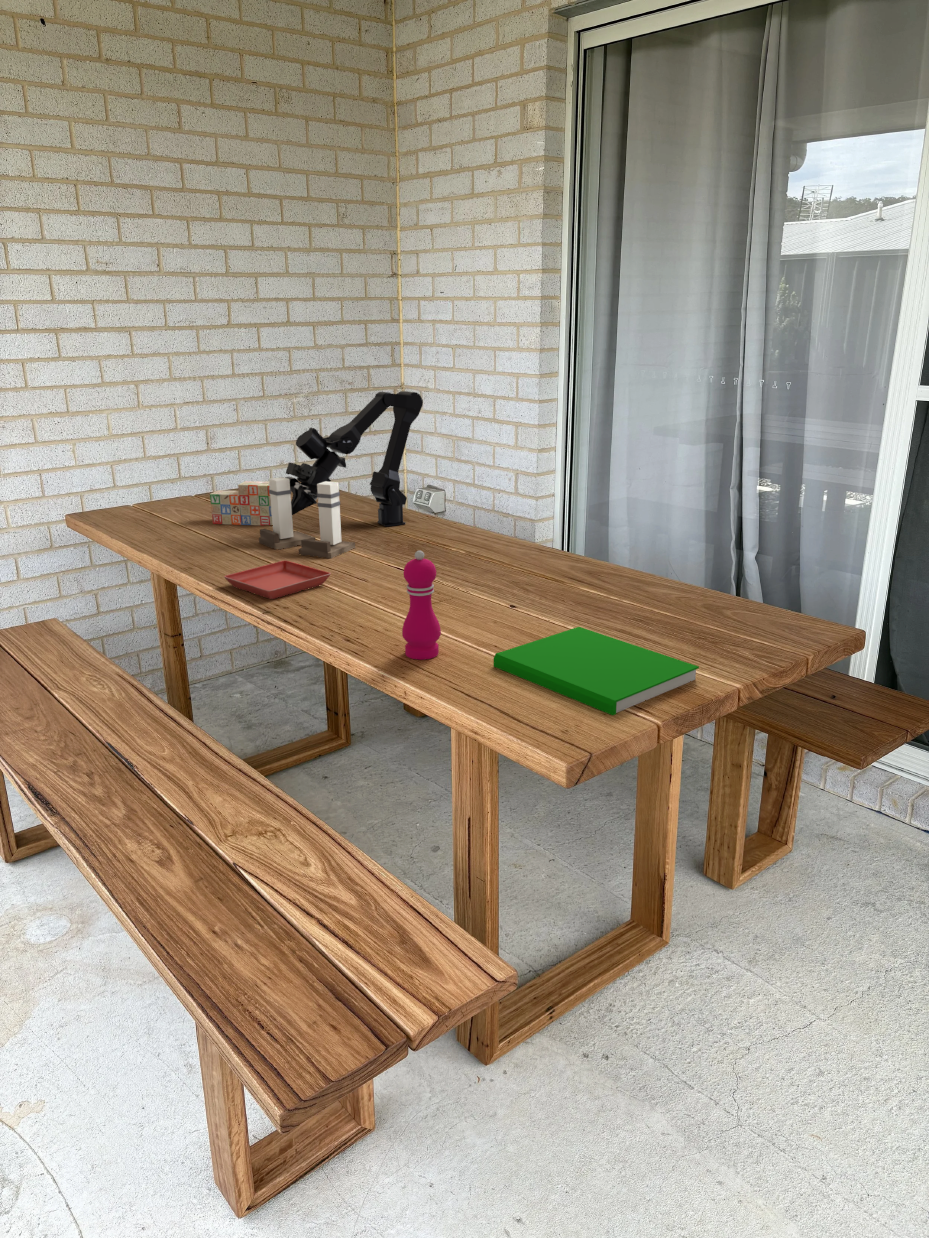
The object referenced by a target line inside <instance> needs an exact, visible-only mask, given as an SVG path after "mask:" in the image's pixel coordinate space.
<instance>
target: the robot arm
mask: <svg viewBox="0 0 929 1238" xmlns="http://www.w3.org/2000/svg"><path fill="white" fill-rule="evenodd" d="M423 400H424V399H423V398H422V395H421V394H420V393H418V392H416V391H408V390H402V391H401V390H400V391H399V392H397V393H391V392H388V391H378V392H377V393H375V396H374V397H373V398H372V399H371V400H370V401H369V402H368V404H366V405H365V407H363V408H362V410H360V411H359V413H357V415H355V416H354V417H353V419H351V421H349V422H348V423H347V424H345V425H343V426H340V427H338V428H337V429H336V430H334V431H333V432H332V433H330V435H329V436H326V437H323V436H322V435H321V434H320V432H318V431H317V429H316V428H313V427H310V428H309V429H308V430H306V431H304V432H303V433H302V434H300V435H298V437H297V439H296V441H295V446H296V447H297V448H298V449H300V451H301V452H302V453H304V454H305V456H306V457H308V458H309V460H314V459H315V461H314V462H313V464H312V465H310V464H308V463H304V462H303V463H301V465H300V464H298V463H294V462H288V464H287V468H286V470H285V474H287V475H291V476H284V478H288V479H289V480H290V490H291V494H292V496H291V509H292V516H294V515H295V514H298V513H300V512H301V511H303V510H305V509H307V508H309V507H311V506H313V505H316V504H317V503H318V501H317V500H318V497H317V493H318V491H317V484H319V483H322V482H325V481H327V482H332V480H331V479H330V477H331V476H332V475H333V473H334V472H335V470H336V469H337V468H338V467H340V468H343V469H344V468H345V469H346V468H347V462H346V458H345V457H343V456H340V455H338V454H343V455H350V454H352V453H353V452H354V451H355V449H357V447H358V445H359V443H360V442H361V438H362V436H363V434H364V433H365V432H366V431H367V430H368V429H369V428H370V427H371V426H372V425H373V424H374V423H375V421H377V419H378V418H379V417H380V416H381V415H382V414H383V413H384V412H386V410H388V408H390V407H392V412H393V417H394V421H393V425H392V429H391V433H390V436H389V440H388V443H387V448H386V452H385V456H384V459H383V463H382V466H381V468H380V470H378V471H376V470H375V471H373V472H372V476H371V481H370V482H369V485H370V492H371V495H372V496H373V497H374V499H375V501H376V503H379V507H378V509H377V517H378V519H377V520H378V521H377V523H378V524H380V525H381V526H384V527H393V526H401V525H406V523H407V522H406V521H404V514H403V513H404V511H403V510H404V509H403V507H404V506H403V505H406V503H407V500H408V499H407V496H406V495H405V494H404V493H403V492H402V491H401V490H400V488H401V487H400V486H401V478H400V475H399V470H400V466H401V463H402V459H403V456H404V453H405V452H404V451H405V448H406V445H407V442H408V437H409V433H410V430H411V427H412V424H413V423H414V421H415V420H416V419H417V418H418V417H419V415H420V413H421V410H422V408H423V403H424V401H423ZM329 449H330V450H329ZM292 476H294V477H292Z"/></svg>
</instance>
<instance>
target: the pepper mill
mask: <svg viewBox="0 0 929 1238" xmlns="http://www.w3.org/2000/svg"><path fill="white" fill-rule="evenodd" d="M436 577H437V569H436V566H435V564H434V563H433V562H432V561H431V560H430V559H427V558H425V552H423V551H422V550H417V551H415V553H414V558H413V559H411V560H409V561H408V562H406V564H405V566H404V568H403V578H404V580H405V581H406V582H407V585H406V593H407V594H408V595H409V608H408V612H407V614H406V617H405V619H404V621H403V625H402V630H401V631H402V632H401V636H402V638H403V639H404V641H405V642H406V644H405V645H404V647H405V648H404V650H405V651H404V652H405V653H404V654H405V656H406V658H409V659H413V660H429V659H433V658H435V657H438V655H439V649H440V648H439V643H438V642H437V641H438V640H439V639H440V637H441V634H442V631H441V624H440V622H439V619H438V618H437V616H436V614H435V612H434V609H433V605H432V604H433V603H432V594H434V593H435V589H434V588H435V585H434V584H433V582H434V581H435V580H436Z"/></svg>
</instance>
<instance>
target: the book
mask: <svg viewBox="0 0 929 1238" xmlns="http://www.w3.org/2000/svg"><path fill="white" fill-rule="evenodd" d="M493 667H494V668H496V669H499V670H500V671H503V672H505V673H508V674H511V675H513V676H515V677H518V678H521V679H523V680H526V681H527V682H530V683H533V684H535V685H538V686H540V687H542V688H545V689H547V690H550V691H551V692H555V693H557V694H559V695H562V696H564V697H567V698H569V699H572V700H574V701H577V702H579V703H581V704H584V705H586V706H588V707H591V708H594V709H595V710H598V711H601V712H603V713H606V714H608V715H611V716H615V715H617V713H619V712H622V711H624V710H626V709H628V708H631V707H634V706H635V705H639V704H641V703H643V702H645V700H646V701H648V700H650V699H652V698H656V697H657V696H659V695H662V694H664V693H666V692H669V691H672V690H674V689H676V688H679V687H681V686H684V685H687V684H688V683H691V682H693V681H695V680H696V677H697V676H696V674H697V670H698V669H700V666H699V665H696V664H692V663H691V662H690V663H689V662H686V661H684V660H680V659H678V658H674V657H672V656H668V655H666V654H662V653H659V652H656V651H653V650H651V649H648V648H645V647H641V646H639V645H636V644H633V643H629V642H626V641H623V640H622V639H621V640H620V639H617V638H615V637H611V636H609V635H605V634H602V633H599V632H597V631H594V630H591V629H588V628H584V627H581V626H577V627H573V628H570V629H567V630H565V631H561V632H558V633H554V634H552V635H548V636H545V637H542V638H539V639H537V640H533V641H531V642H530V641H529V642H527V643H525V644H522V645H518V646H515V647H512V648H509V649H506V650H503V651H499V652H497V653H495V655H494V656H493ZM690 681H691V682H690Z"/></svg>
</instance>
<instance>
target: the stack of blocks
mask: <svg viewBox="0 0 929 1238" xmlns="http://www.w3.org/2000/svg"><path fill="white" fill-rule="evenodd" d="M237 489H238V490H224V489H223V490H222V489H221V490H219V489H218V490H215V491H214V492H211V493H209V500H210V508H211V517H212V524H213V525H233V526H234V525H235V526H236V525H237V526H264V525H272V512H271V499H270V493H269V490H270V486H269V480H265V481H261V480H260V481H256V480H255V481H253V480H251V481H250V480H244V481H243V482H241V483H239V484H237Z"/></svg>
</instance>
